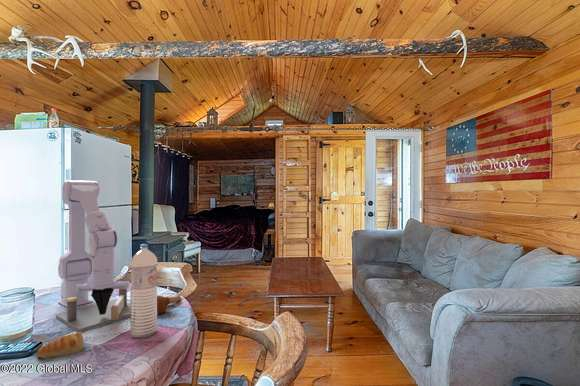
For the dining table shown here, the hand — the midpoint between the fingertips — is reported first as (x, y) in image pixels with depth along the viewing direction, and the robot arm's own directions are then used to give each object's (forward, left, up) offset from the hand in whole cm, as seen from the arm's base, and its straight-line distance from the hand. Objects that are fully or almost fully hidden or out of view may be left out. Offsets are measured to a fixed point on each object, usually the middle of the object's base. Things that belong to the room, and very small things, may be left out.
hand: (102, 313), depth 98 cm
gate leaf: (0, +4, -1) cm, 4 cm away
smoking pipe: (+4, +18, -3) cm, 19 cm away
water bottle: (+18, +3, -3) cm, 19 cm away
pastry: (+12, -14, -3) cm, 19 cm away
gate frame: (-6, +2, -2) cm, 6 cm away
